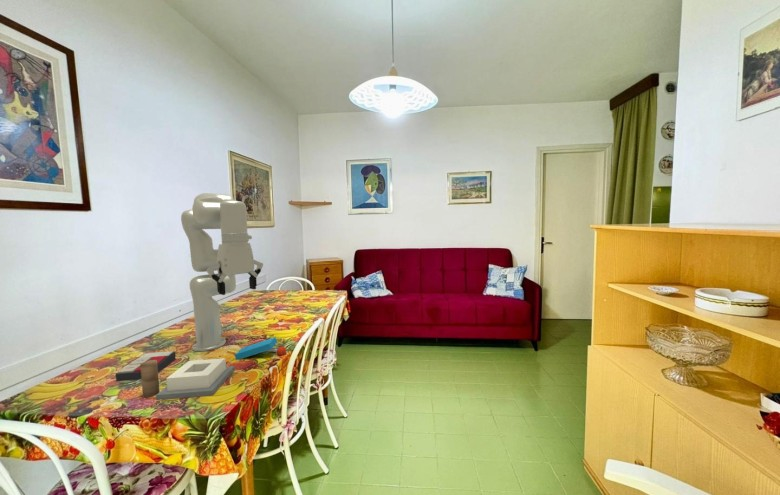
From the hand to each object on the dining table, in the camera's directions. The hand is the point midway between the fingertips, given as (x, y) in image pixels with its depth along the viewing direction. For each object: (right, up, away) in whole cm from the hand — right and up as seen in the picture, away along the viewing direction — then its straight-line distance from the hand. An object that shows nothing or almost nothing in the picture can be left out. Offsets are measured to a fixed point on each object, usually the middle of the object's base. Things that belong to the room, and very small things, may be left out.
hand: (238, 291), depth 95 cm
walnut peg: (-25, -31, -4) cm, 40 cm away
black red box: (-40, -31, +12) cm, 52 cm away
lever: (-2, -30, +22) cm, 37 cm away
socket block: (-14, -31, +1) cm, 34 cm away
